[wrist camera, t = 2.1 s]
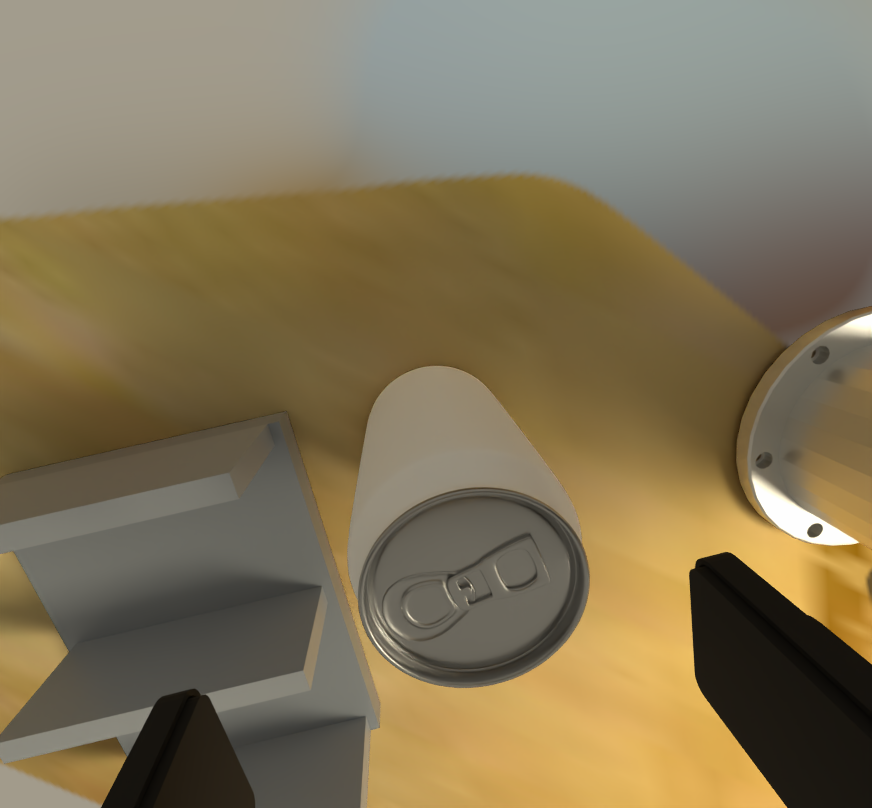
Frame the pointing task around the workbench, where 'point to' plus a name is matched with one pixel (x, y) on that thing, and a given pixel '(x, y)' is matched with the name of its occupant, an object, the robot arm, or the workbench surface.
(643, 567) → the workbench surface
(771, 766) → the robot arm
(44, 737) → the rack
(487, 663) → the can
